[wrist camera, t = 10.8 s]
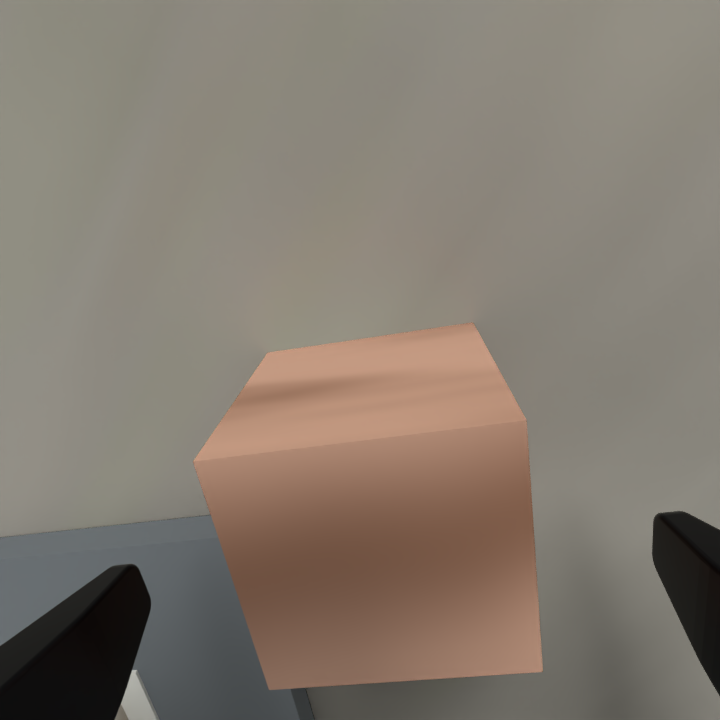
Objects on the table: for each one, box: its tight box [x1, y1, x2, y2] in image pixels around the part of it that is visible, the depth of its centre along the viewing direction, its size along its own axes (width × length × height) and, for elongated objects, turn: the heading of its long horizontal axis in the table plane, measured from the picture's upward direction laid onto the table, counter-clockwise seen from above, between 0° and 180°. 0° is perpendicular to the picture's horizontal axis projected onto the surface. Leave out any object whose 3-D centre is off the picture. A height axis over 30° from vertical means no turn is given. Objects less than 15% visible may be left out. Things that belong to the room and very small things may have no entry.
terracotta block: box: [193, 323, 543, 690], centre depth 10 cm, size 5×5×5 cm
